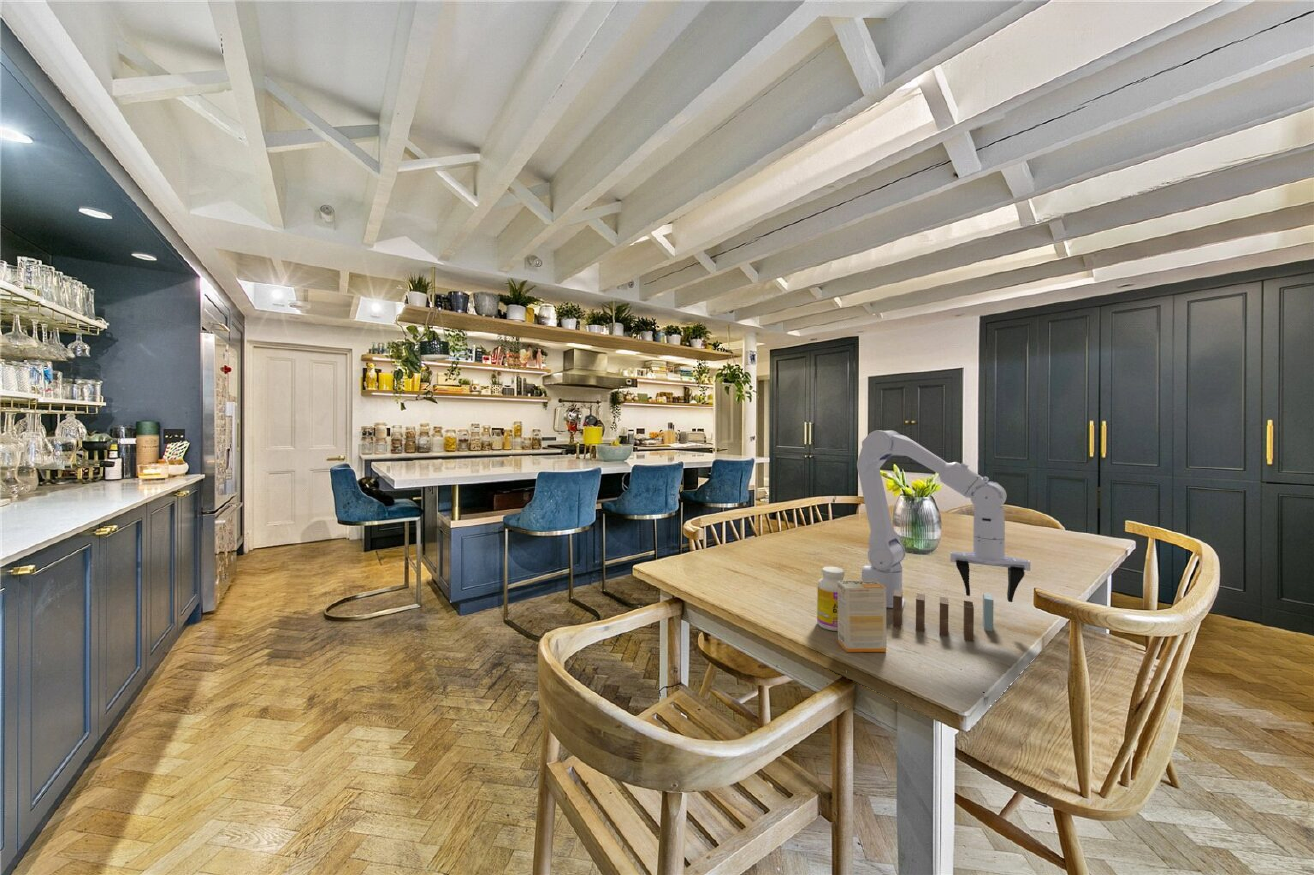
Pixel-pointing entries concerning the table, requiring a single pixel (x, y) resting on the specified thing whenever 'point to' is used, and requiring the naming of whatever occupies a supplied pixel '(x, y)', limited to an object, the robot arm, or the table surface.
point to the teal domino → (988, 612)
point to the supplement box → (862, 616)
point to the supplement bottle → (828, 598)
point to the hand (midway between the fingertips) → (988, 597)
